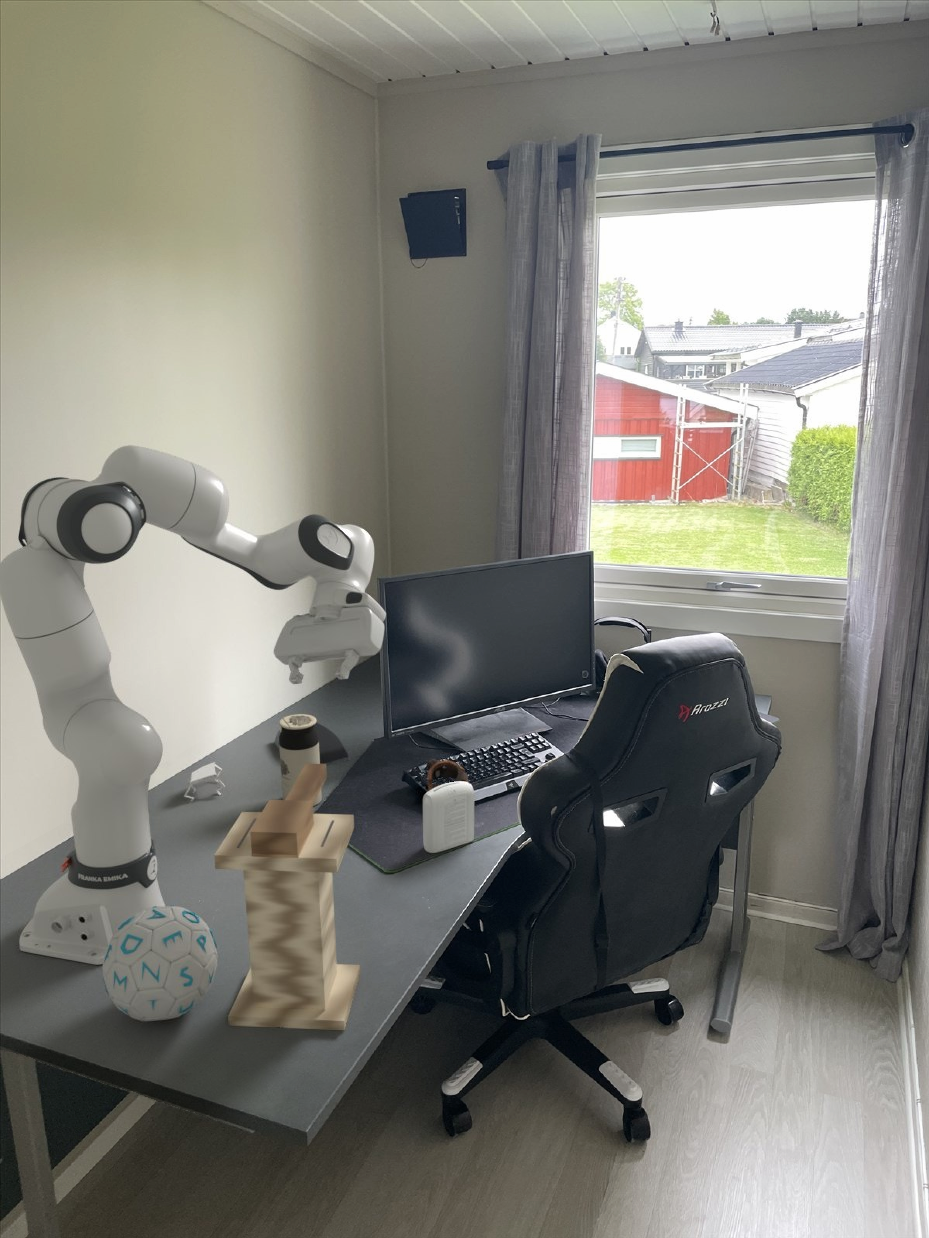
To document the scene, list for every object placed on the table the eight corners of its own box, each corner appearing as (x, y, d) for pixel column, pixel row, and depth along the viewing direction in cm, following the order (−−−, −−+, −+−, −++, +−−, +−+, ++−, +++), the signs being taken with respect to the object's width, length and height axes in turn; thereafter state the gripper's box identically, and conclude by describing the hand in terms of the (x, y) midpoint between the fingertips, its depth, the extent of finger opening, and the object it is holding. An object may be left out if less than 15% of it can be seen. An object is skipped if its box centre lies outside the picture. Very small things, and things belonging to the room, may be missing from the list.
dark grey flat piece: (299, 773, 203) (298, 756, 202) (271, 744, 219) (270, 728, 218) (353, 761, 209) (352, 745, 208) (322, 733, 225) (321, 718, 224)
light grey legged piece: (222, 803, 188) (221, 782, 187) (182, 804, 188) (180, 782, 186) (234, 778, 200) (233, 758, 198) (196, 779, 199) (194, 759, 198)
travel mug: (318, 790, 194) (314, 711, 189) (324, 806, 186) (320, 724, 182) (280, 795, 191) (275, 716, 186) (285, 812, 184) (280, 729, 179)
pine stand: (228, 1025, 124) (214, 854, 117) (254, 969, 135) (242, 811, 128) (344, 1030, 123) (336, 858, 116) (360, 973, 134) (353, 814, 127)
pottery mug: (481, 793, 193) (474, 770, 187) (448, 822, 189) (440, 800, 184) (445, 763, 200) (438, 740, 195) (413, 790, 197) (404, 768, 191)
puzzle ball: (192, 1052, 119) (182, 953, 115) (86, 1039, 121) (73, 942, 117) (238, 978, 133) (230, 888, 129) (143, 968, 136) (132, 880, 132)
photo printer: (465, 832, 176) (465, 773, 172) (477, 841, 172) (477, 781, 169) (419, 847, 170) (418, 786, 167) (431, 856, 167) (430, 795, 163)
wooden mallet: (251, 856, 117) (249, 831, 116) (297, 776, 140) (295, 755, 139) (298, 857, 116) (296, 833, 115) (336, 777, 139) (335, 756, 138)
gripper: (277, 607, 159) (256, 676, 152) (375, 592, 150) (358, 665, 143) (298, 625, 164) (279, 693, 157) (394, 612, 155) (378, 684, 148)
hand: (317, 680), depth 150 cm, fingers open, 8 cm apart
